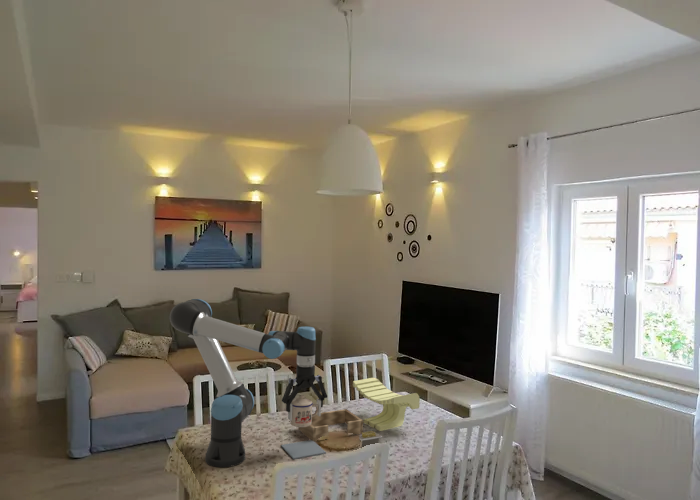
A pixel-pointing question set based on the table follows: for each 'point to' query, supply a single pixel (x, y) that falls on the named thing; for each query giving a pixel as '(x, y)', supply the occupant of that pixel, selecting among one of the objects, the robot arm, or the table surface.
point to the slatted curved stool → (386, 403)
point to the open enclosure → (332, 423)
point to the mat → (303, 449)
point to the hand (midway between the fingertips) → (304, 417)
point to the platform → (369, 438)
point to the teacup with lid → (302, 412)
